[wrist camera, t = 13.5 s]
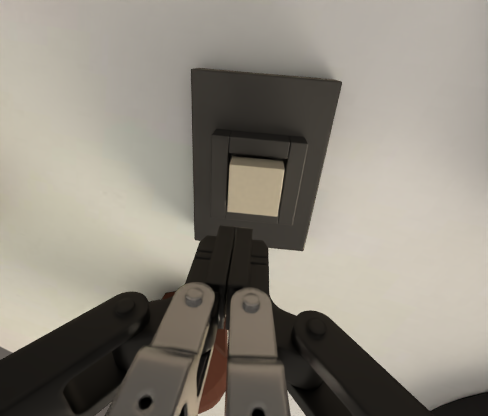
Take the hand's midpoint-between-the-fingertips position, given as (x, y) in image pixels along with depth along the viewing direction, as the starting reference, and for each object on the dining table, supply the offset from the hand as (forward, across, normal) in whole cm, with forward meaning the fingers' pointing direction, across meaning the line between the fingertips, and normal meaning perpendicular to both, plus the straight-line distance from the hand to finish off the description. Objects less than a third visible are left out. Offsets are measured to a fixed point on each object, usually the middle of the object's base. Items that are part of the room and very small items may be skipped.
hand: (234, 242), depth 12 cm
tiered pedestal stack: (+12, -1, 0) cm, 12 cm away
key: (+8, -1, 0) cm, 8 cm away
